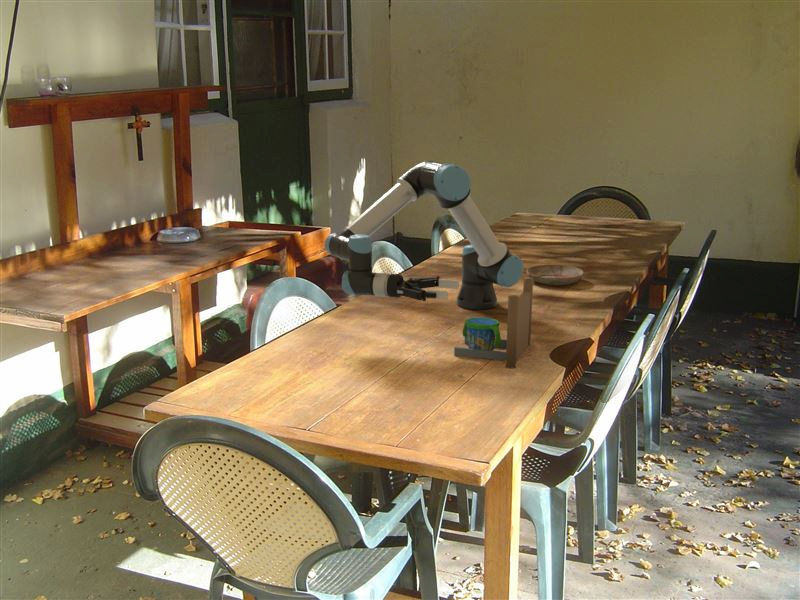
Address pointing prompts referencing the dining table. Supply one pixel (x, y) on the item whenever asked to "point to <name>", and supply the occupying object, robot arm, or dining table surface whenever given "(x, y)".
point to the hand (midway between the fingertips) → (453, 289)
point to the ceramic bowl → (555, 274)
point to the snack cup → (482, 333)
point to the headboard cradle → (510, 330)
